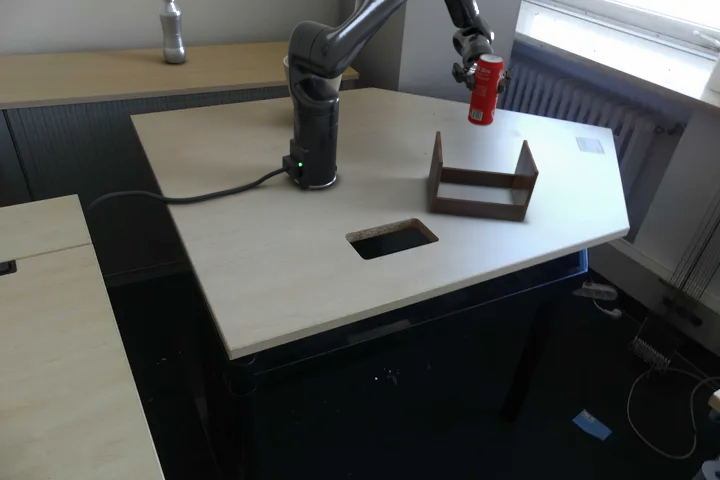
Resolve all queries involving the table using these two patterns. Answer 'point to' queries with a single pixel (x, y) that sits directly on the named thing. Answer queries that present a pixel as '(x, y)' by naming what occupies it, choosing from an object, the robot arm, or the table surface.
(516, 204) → the walnut crate
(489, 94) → the beverage can
